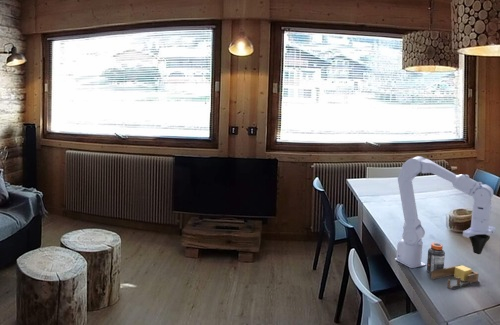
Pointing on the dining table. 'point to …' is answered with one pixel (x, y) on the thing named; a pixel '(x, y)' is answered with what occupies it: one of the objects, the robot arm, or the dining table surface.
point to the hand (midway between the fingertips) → (477, 253)
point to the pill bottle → (435, 257)
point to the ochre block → (462, 272)
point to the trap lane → (451, 271)
